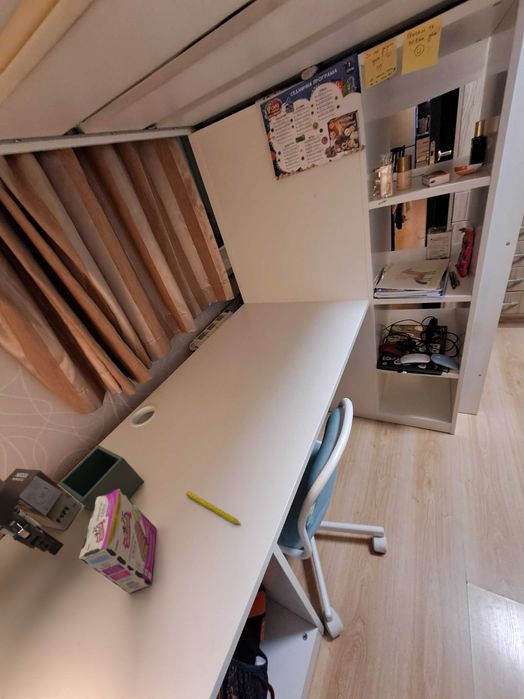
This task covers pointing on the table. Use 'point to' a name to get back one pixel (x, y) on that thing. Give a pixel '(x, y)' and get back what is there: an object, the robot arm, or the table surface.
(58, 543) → the ink cartridge
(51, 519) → the coffee box
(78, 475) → the box
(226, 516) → the pencil
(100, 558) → the candy bar box
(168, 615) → the table surface
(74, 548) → the table surface
